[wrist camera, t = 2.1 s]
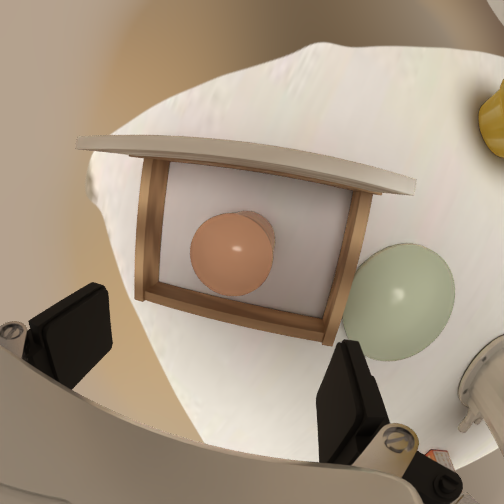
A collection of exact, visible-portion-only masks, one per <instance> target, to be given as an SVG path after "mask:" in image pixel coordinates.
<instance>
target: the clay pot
mask: <svg viewBox="0 0 504 504" xmlns="http://www.w3.org/2000/svg"><path fill="white" fill-rule="evenodd" d="M274 246H275V234H274V230H273V228H272V226H271V224H270V223H269V222H268V221H267V220H266V219H265V218H264V217H263V216H261V215H260V214H258V213H255V212H251V211H241V212H237V213H225V214H221V215H217V216H215V217H212V218H210V219H209V220H207V221H206V222H204V223H203V224H202V225H201V226H200V227H199V228H198V230H197V231H196V233H195V235H194V237H193V239H192V242H191V247H190V258H191V263H192V266H193V269H194V271H195V273H196V275H197V276H198V278H199V279H200V280H201V282H202V283H203V284H204V285H205V286H207V287H208V288H209V289H211V290H213V291H214V292H217V293H219V294H222V295H227V296H241V295H245V294H248V293H250V292H252V291H254V290H256V289H257V288H258V287H259V286H260V285H262V283H263V282H264V281H265V280H266V278H267V276H268V274H269V272H270V269H271V266H272V263H273V250H274Z"/></svg>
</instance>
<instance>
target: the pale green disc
mask: <svg viewBox="0 0 504 504" xmlns="http://www.w3.org/2000/svg"><path fill="white" fill-rule="evenodd" d="M454 299H455V286H454V280H453V276H452V273H451V271H450V269H449V267H448V265H447V264H446V262H445V261H444V260H443V259H442V258H441V257H440V256H439V255H438V254H437V253H435V252H433V251H432V250H430V249H428V248H426V247H424V246H421V245H417V244H397V245H393V246H390V247H387V248H385V249H383V250H381V251H379V252H377V253H376V254H374V255H373V256H371V257H370V258H369V259H367V260H366V261H365V262H364V263H363V264H362V265H361V266H360V268H359V269H358V270H357V271H356V272H355V275H354V279H353V282H352V286H351V289H350V293H349V296H348V300H347V303H346V306H345V309H344V313H343V316H342V319H343V324H344V328H345V331H346V334H347V337H348V338H349V340H354V341H359V343H360V346H361V349H362V351H363V354H364V355H365V356H367V357H369V358H371V359H375V360H379V361H397V360H402V359H405V358H408V357H411V356H413V355H415V354H417V353H419V352H420V351H422V350H423V349H425V348H426V347H427V346H429V345H430V344H431V343H432V342H433V341H434V340H435V339H436V338H437V337H438V336H439V334H440V333H441V332H442V330H443V329H444V327H445V326H446V324H447V322H448V320H449V318H450V315H451V312H452V309H453V305H454Z"/></svg>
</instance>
